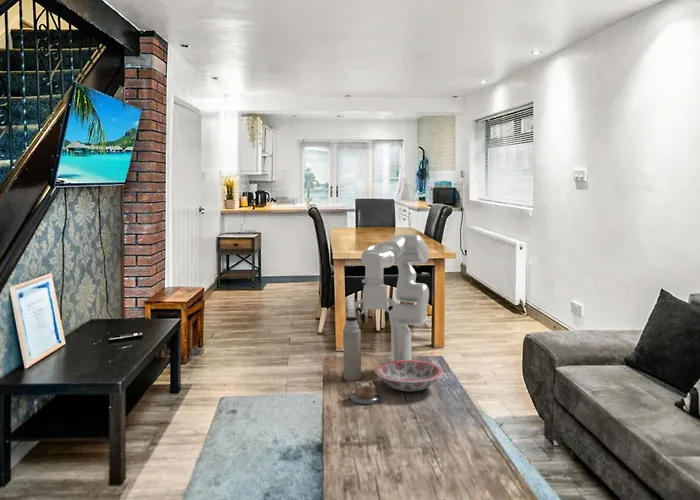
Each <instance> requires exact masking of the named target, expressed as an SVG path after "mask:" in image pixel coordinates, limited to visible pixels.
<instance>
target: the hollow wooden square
mask: <svg viewBox="0 0 700 500" xmlns="http://www.w3.org/2000/svg"><path fill="white" fill-rule="evenodd" d="M367 382H369V384H370V386H360V383H367ZM354 385H355V386H354V387H355V392H354V393H356V396H357V398H358V400H360V399H374V398H375V392H376V386H375V384H374V382H373V380H364V381H355V383H354Z"/></svg>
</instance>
